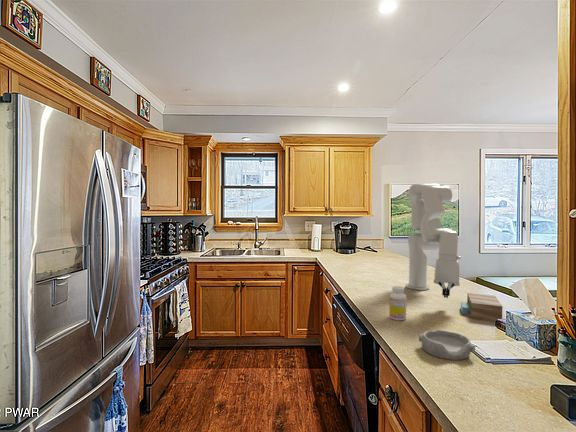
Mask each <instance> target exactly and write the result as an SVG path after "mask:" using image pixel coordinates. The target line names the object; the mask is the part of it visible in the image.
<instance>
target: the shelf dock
mask: <svg viewBox="0 0 576 432" xmlns="http://www.w3.org/2000/svg"><path fill="white" fill-rule="evenodd" d="M466 298H467V301H466V303H470V305H471V312H466V311H465V314H464V316H466V317H470V319H473V320H474V319H476V320H484V321H491V322H496V319H502V320H503V304H501V302H500V301H499V299H498V297H496V295H492V294H482V293H473V292H467V297H466Z"/></svg>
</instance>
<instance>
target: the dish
mask: <svg viewBox="0 0 576 432" xmlns="http://www.w3.org/2000/svg"><path fill="white" fill-rule="evenodd" d="M418 341H419V342H421V347H422V349H423V350H424V351H425V352H426V353H427V354H429V355H432V356H434V357H436V358H440V359H444V360H453V361H454V360H456V361H457V360H465V359H468V358H469V357H470V355H471V353H474V352H475V351H476V345H475V344H472V342H471V340H470V339H469V338H468V336H466V335H463V334H460V333H458V332H453V331H448V330H442V329H436V330H433V331H432V330H429V329H428V330H427V331H425V332H423V334H422V333H420V334H419V336H418Z"/></svg>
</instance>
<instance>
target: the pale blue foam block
mask: <svg viewBox="0 0 576 432" xmlns="http://www.w3.org/2000/svg"><path fill="white" fill-rule="evenodd" d="M460 311H461V314H462V315H465V311H466V312H471V305H470V303H467V301H466V302H465V301H460Z"/></svg>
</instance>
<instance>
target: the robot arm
mask: <svg viewBox="0 0 576 432" xmlns="http://www.w3.org/2000/svg"><path fill="white" fill-rule="evenodd" d="M408 198H409V201H410V202H409V203H410V205H411V217H410V218H411V219H410V220H411V221H410V224H411V228H412V230H414V231H418V232H414V233H410V235H409V236H408V237H407V243H408V250H409V252H408V254H409V255H408V257H409V258H408V259H409V260H408V261H409V265H408V283H406V284H405V286H406V288H407V289H410V290H411V289H412V290H415V291H427V290H429V289H430V285H427V281H428V277H427V276H428V275H427V274H428V257H427V255H426V253H425V252H424V251H425V250H426V251H435V250H438V258H437V259H436V261H435V266H434V280H433V284H435V285H438V286H440V288H441V289H442V293H441V295H442V296H443V298H445V299H449V297H450V296H451V294H450V293H451V289H452V288H454V287H459V286H460V285H461V284H460V263H459V260H461V256H460V255H458V246H459V245H458V244H459V243H458V242H459V233H458V232H457V231H456V230H453V229H451V228H443V227H442V220H441V219H442V218H440V217H441V216H442V215H443V214H444V213H445V208H444V204H443V203H449V202H451V201H452V199H453V192H452V189H451V187H449V186H448V185H444V184H441V183H415V184H411V185H410V187H409V189H408ZM419 231H420V232H419ZM446 283H447V286H445V284H446Z"/></svg>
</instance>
